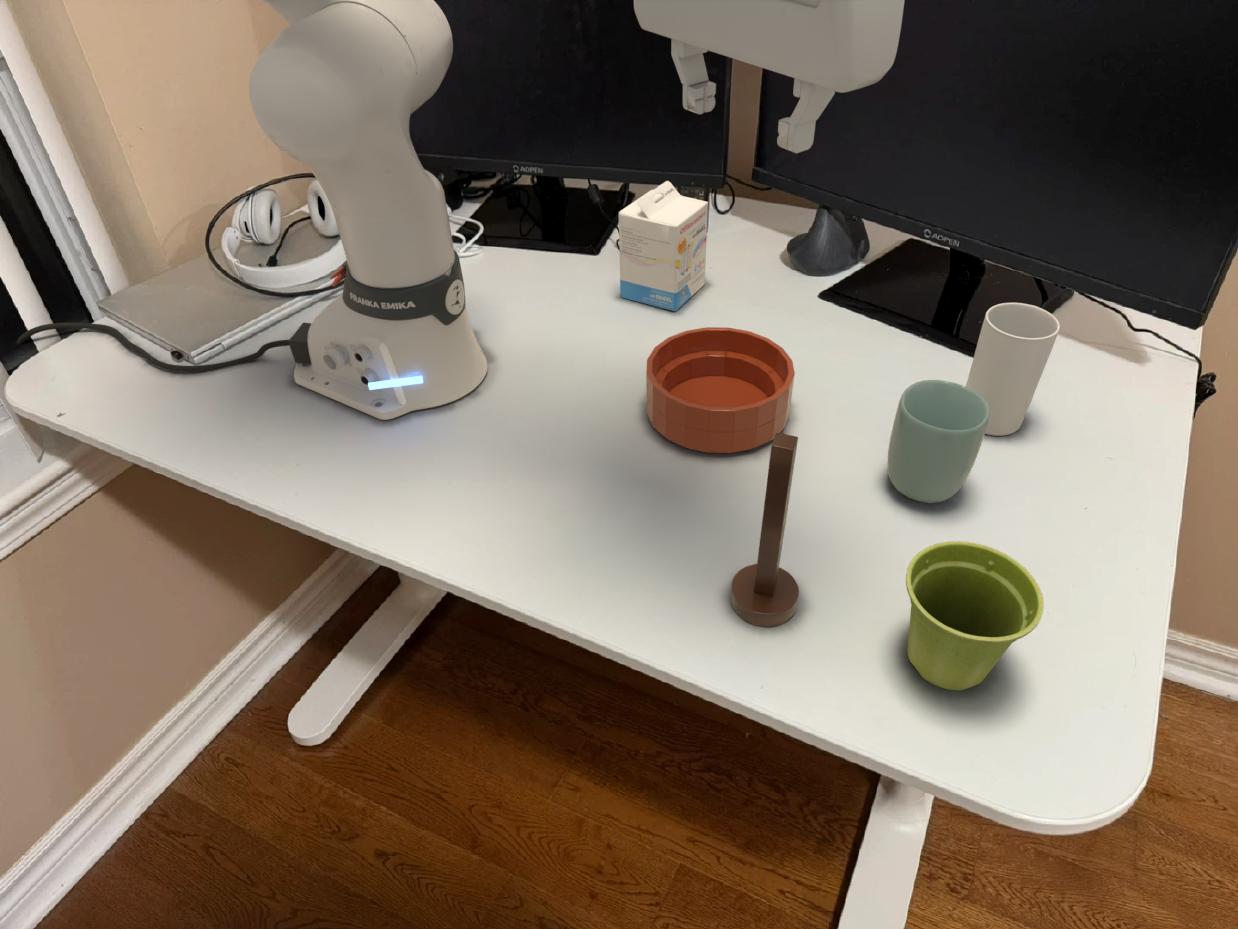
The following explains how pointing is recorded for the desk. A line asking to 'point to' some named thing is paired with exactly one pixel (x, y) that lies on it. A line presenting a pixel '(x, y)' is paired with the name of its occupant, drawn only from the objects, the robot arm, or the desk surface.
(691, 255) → the ink box
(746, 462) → the desk surface
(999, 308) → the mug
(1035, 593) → the plant pot
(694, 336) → the bowl
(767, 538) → the brown post stand
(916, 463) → the cup
